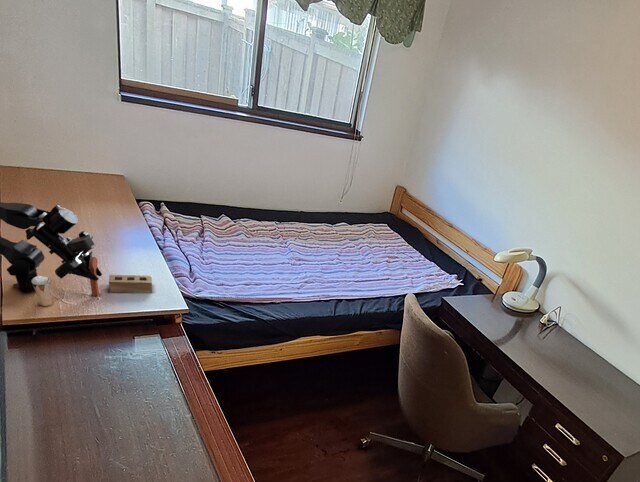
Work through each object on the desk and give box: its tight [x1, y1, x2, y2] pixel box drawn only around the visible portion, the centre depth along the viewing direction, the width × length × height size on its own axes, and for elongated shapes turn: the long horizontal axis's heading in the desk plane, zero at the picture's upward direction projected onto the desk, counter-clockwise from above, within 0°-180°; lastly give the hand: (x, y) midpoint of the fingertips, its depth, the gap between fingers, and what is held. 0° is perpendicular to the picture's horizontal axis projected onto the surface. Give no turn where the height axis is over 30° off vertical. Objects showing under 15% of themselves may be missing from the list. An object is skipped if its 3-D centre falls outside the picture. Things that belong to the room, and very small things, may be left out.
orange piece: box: [89, 256, 100, 297], centre depth 149 cm, size 2×4×14 cm, turn 9°
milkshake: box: [31, 275, 53, 307], centre depth 140 cm, size 4×5×10 cm
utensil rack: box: [108, 274, 153, 294], centre depth 159 cm, size 5×13×4 cm, turn 113°
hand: (99, 277), depth 149 cm, fingers closed on orange piece, 3 cm apart
